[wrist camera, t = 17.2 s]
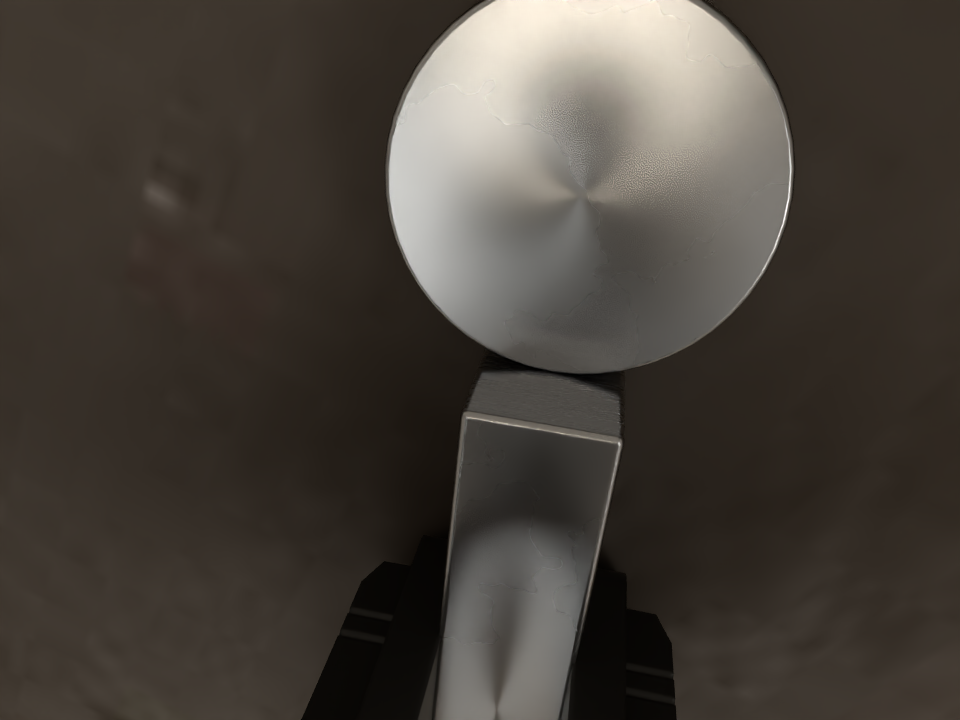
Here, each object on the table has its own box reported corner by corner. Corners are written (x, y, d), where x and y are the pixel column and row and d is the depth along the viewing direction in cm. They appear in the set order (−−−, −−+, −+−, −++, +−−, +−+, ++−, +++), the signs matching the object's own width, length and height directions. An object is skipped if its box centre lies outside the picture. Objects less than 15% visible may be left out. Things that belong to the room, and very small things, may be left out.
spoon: (415, -55, 9) (352, -61, 7) (830, -9, 8) (893, 0, 6) (373, 749, 15) (334, 868, 13) (606, 800, 14) (604, 933, 12)
